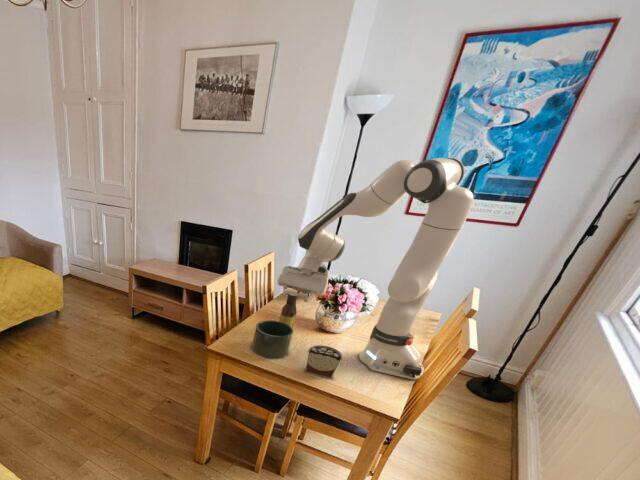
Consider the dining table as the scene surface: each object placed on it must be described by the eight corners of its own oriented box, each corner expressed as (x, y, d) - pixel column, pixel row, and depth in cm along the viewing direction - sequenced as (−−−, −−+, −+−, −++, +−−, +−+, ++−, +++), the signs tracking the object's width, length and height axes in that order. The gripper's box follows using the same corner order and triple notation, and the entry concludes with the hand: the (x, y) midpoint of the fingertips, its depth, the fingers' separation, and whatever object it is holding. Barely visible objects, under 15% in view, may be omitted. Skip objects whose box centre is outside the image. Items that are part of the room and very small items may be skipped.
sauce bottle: (292, 339, 173) (303, 297, 162) (278, 339, 174) (288, 297, 162) (287, 332, 179) (298, 291, 167) (274, 332, 179) (283, 291, 167)
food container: (337, 372, 152) (345, 349, 147) (335, 379, 148) (343, 357, 142) (304, 363, 158) (310, 341, 152) (301, 370, 153) (307, 348, 147)
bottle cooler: (292, 348, 168) (298, 327, 162) (279, 362, 158) (285, 340, 153) (260, 337, 175) (264, 317, 169) (245, 350, 166) (250, 329, 160)
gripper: (284, 261, 171) (270, 289, 171) (332, 271, 161) (318, 301, 160) (285, 268, 177) (272, 295, 176) (333, 279, 166) (318, 307, 166)
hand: (294, 298), depth 168 cm, fingers open, 8 cm apart
